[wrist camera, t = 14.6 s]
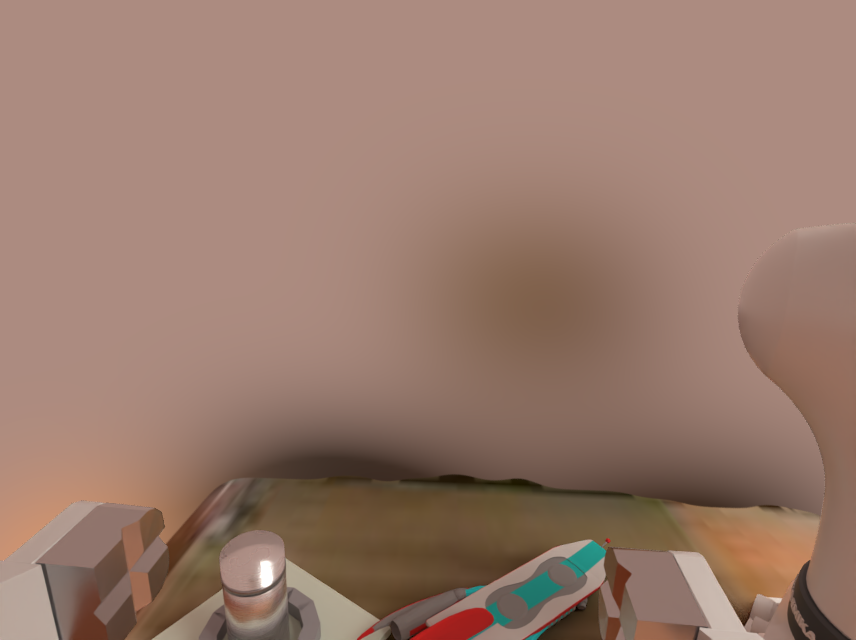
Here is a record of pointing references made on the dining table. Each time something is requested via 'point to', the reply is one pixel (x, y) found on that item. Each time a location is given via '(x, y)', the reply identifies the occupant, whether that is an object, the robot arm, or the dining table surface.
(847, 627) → the robot arm
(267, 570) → the piston
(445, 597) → the toy spaceship
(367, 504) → the dining table surface
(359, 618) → the ring plate
